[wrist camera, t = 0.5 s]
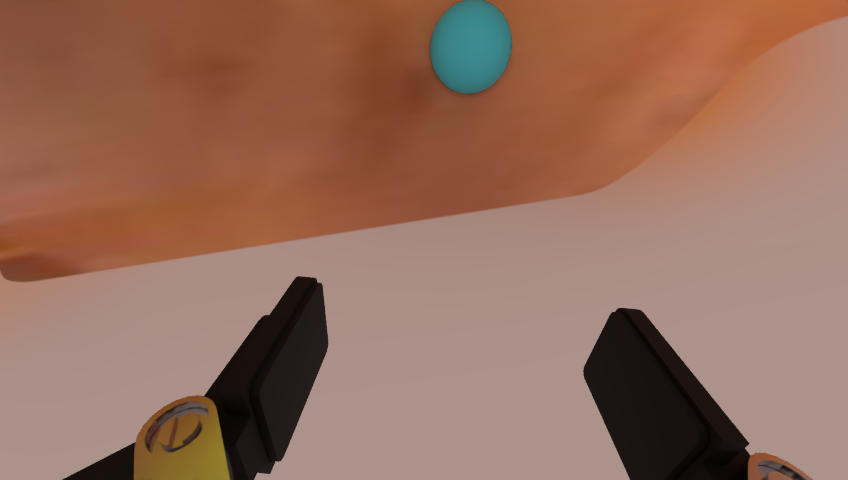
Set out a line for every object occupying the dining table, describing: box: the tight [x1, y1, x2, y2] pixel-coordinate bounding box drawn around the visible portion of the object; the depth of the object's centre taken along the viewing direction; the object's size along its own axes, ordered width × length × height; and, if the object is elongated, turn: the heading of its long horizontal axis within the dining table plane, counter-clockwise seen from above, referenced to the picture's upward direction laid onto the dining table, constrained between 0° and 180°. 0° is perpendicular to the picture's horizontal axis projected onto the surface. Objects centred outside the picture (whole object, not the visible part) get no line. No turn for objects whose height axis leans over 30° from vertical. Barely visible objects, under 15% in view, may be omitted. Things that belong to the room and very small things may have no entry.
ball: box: [430, 0, 512, 94], centre depth 23 cm, size 6×6×6 cm
